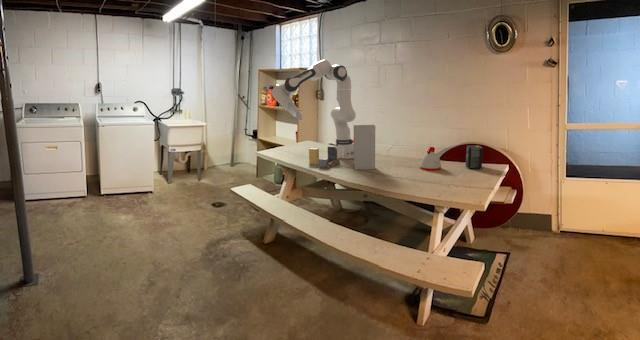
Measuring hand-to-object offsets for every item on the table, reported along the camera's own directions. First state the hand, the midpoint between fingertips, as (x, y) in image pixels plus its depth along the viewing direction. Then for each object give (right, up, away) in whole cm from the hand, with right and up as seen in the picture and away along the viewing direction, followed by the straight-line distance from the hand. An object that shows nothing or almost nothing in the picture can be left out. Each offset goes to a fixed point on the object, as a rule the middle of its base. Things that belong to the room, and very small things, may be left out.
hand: (301, 118), depth 299 cm
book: (+9, -33, +7) cm, 35 cm away
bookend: (+16, -35, -7) cm, 39 cm away
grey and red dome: (+89, -36, -14) cm, 97 cm away
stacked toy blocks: (+18, -34, +1) cm, 39 cm away
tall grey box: (+44, -36, -9) cm, 58 cm away
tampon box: (+118, -35, -14) cm, 124 cm away
